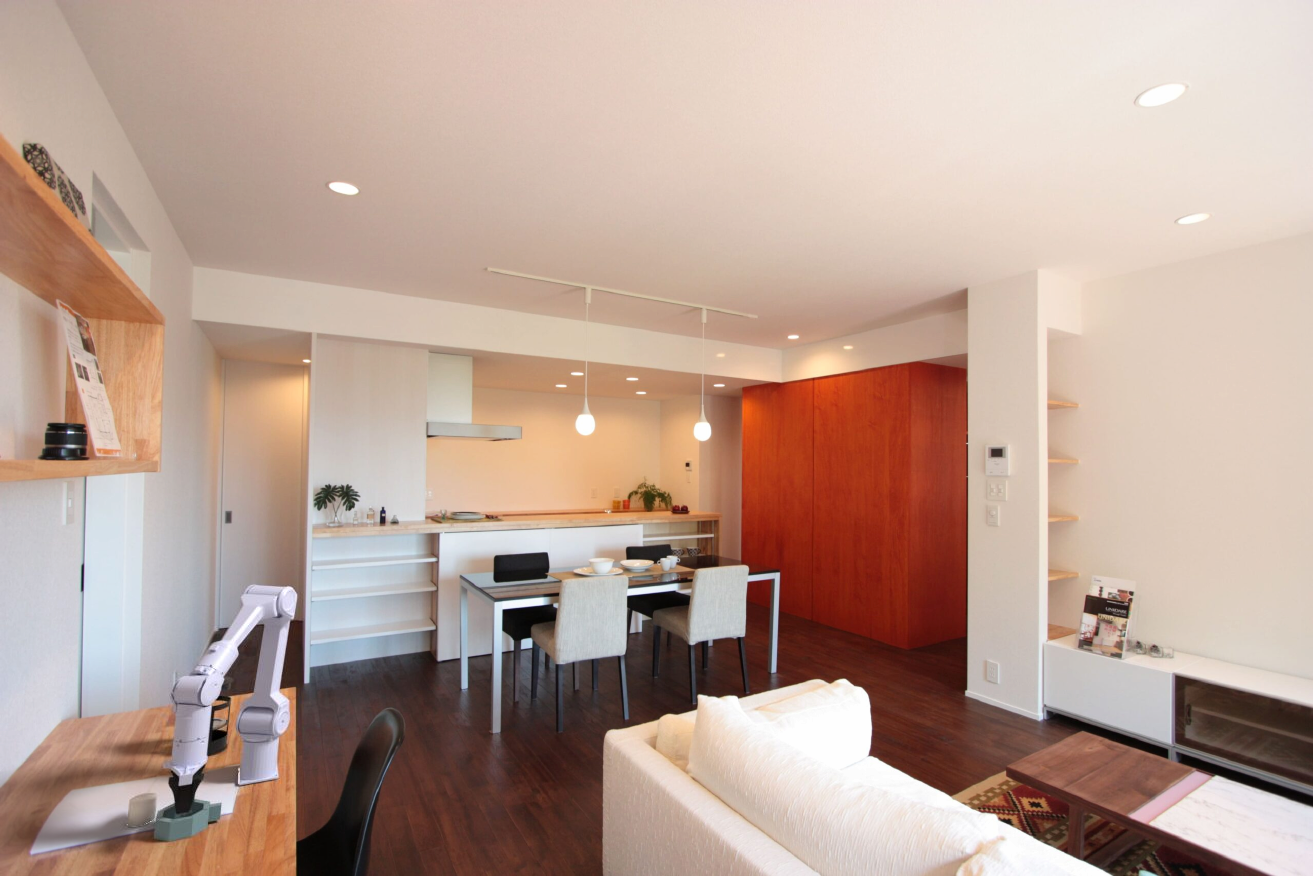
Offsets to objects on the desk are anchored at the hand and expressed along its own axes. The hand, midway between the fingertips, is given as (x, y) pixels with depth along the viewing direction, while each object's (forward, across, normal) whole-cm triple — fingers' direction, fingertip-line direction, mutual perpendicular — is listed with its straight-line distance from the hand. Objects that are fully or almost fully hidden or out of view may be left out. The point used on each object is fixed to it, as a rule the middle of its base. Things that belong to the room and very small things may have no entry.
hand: (183, 808), depth 125 cm
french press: (+4, -41, +2) cm, 41 cm away
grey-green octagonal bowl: (+4, 0, 0) cm, 4 cm away
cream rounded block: (+4, -7, -7) cm, 11 cm away
